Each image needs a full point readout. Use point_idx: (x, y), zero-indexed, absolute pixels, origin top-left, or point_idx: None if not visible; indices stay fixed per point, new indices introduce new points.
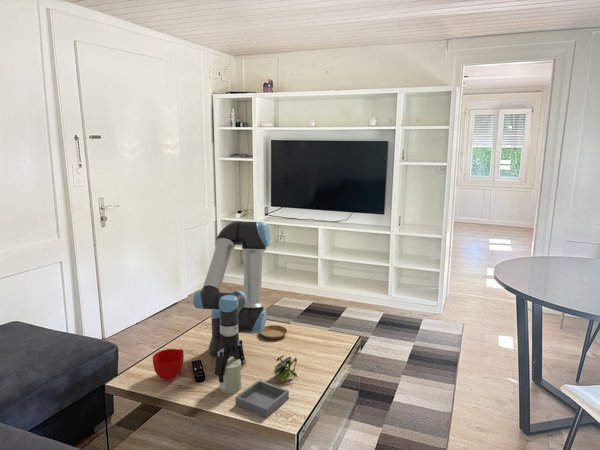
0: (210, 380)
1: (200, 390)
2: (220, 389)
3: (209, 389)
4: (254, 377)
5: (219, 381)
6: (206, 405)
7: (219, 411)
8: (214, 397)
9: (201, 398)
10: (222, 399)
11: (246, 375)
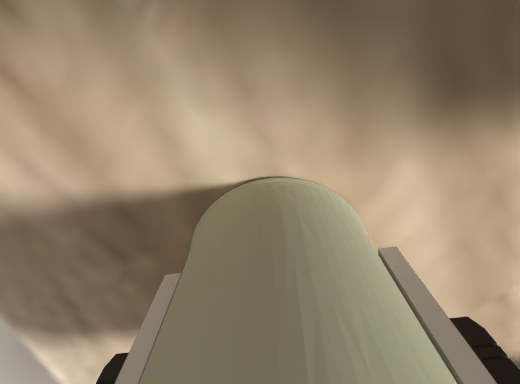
0: (231, 16)
1: (54, 104)
2: (192, 241)
3: (132, 154)
4: (504, 282)
5: (107, 375)
6: (20, 295)
7: (68, 377)
8: (110, 267)
9: (17, 211)
10: (144, 316)
11: (506, 219)
